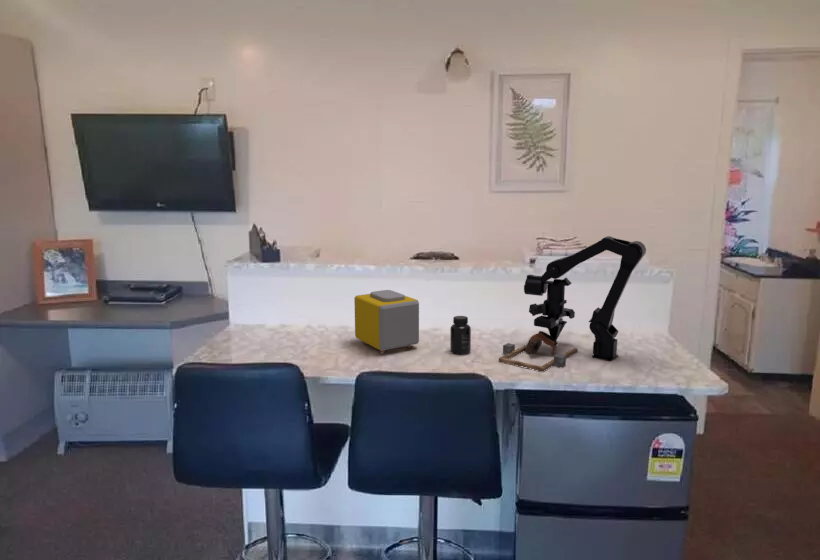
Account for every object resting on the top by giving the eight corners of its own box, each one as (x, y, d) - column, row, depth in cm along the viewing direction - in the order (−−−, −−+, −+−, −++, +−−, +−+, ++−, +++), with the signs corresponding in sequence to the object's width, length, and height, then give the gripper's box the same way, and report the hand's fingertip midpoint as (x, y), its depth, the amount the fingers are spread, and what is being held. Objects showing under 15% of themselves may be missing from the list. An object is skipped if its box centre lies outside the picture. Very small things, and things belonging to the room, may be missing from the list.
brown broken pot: (529, 348, 207) (542, 328, 205) (550, 365, 202) (564, 345, 200) (515, 348, 197) (529, 327, 195) (538, 365, 192) (552, 345, 190)
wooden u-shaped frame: (585, 353, 199) (585, 344, 199) (550, 374, 180) (551, 363, 180) (529, 342, 212) (529, 333, 212) (491, 359, 193) (491, 350, 192)
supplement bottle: (470, 349, 204) (471, 315, 202) (470, 355, 198) (471, 320, 195) (450, 348, 205) (450, 314, 203) (449, 354, 198) (450, 319, 196)
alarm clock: (421, 349, 205) (421, 296, 201) (381, 356, 196) (380, 302, 193) (392, 335, 221) (392, 286, 217) (354, 342, 213) (353, 291, 209)
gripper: (546, 289, 213) (545, 331, 216) (520, 298, 199) (519, 344, 202) (576, 293, 206) (574, 337, 209) (551, 303, 192) (549, 350, 195)
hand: (553, 342), depth 204 cm, fingers closed
